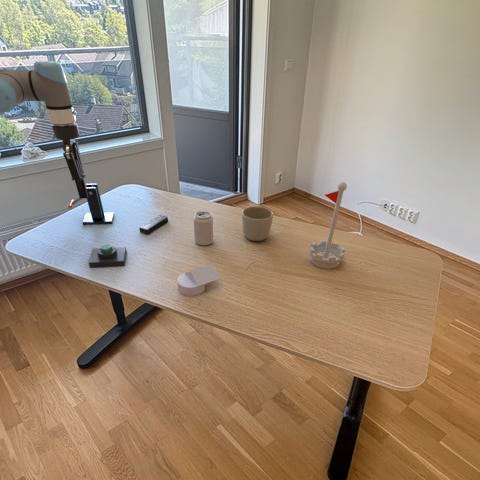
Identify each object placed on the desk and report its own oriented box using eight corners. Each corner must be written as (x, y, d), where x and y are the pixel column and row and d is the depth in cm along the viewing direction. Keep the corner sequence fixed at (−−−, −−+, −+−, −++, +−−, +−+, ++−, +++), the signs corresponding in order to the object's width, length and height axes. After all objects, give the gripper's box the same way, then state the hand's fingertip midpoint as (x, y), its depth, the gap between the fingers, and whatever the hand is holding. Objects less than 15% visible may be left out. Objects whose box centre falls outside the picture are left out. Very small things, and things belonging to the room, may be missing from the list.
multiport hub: (168, 221, 153) (168, 216, 151) (148, 235, 143) (147, 230, 141) (160, 219, 154) (159, 214, 153) (139, 232, 144) (138, 227, 143)
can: (208, 236, 144) (207, 208, 136) (216, 244, 139) (216, 215, 132) (191, 239, 141) (190, 211, 133) (199, 248, 136) (198, 219, 129)
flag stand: (343, 255, 136) (364, 178, 117) (340, 273, 127) (362, 192, 107) (310, 249, 139) (325, 173, 119) (305, 266, 130) (320, 185, 110)
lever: (71, 210, 144) (66, 205, 142) (73, 204, 148) (69, 199, 147) (95, 193, 141) (91, 188, 140) (97, 188, 146) (93, 183, 144)
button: (101, 253, 124) (99, 249, 123) (102, 248, 126) (101, 244, 125) (111, 253, 124) (110, 249, 123) (112, 248, 127) (111, 244, 126)
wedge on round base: (206, 273, 123) (173, 285, 117) (205, 257, 119) (171, 268, 113) (219, 286, 118) (186, 299, 112) (220, 270, 113) (184, 282, 107)
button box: (89, 268, 123) (87, 258, 120) (94, 253, 130) (91, 244, 128) (124, 266, 125) (122, 256, 122) (126, 252, 132) (124, 242, 130)
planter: (264, 229, 151) (267, 205, 144) (274, 242, 142) (277, 218, 135) (237, 231, 148) (238, 207, 141) (245, 246, 139) (247, 220, 132)
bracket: (82, 224, 147) (73, 190, 138) (86, 215, 154) (77, 182, 144) (112, 223, 149) (104, 189, 139) (114, 214, 156) (107, 181, 146)
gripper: (73, 128, 104) (92, 204, 119) (80, 118, 113) (97, 190, 129) (46, 128, 102) (69, 205, 118) (55, 118, 112) (76, 191, 128)
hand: (84, 197), depth 123 cm, fingers closed
